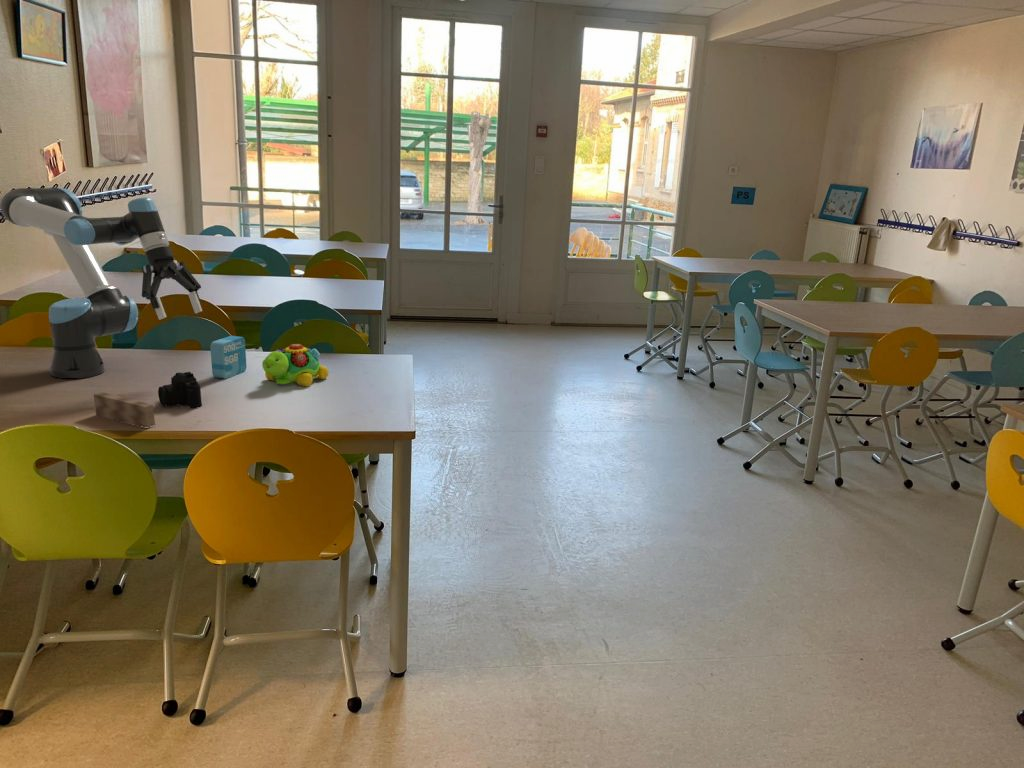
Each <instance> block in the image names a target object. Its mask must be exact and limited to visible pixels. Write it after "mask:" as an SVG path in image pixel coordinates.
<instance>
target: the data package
mask: <svg viewBox="0 0 1024 768" xmlns="http://www.w3.org/2000/svg"><path fill="white" fill-rule="evenodd" d="M210 343H211V344H210V345H209V347H210V359H211V371H212V372H211V373H212V376H213V378H218V379H226V380H227V379H229V378H232V377H235V376H237V375H240V374H242V373H244V372H245V371H246V370H247V353H246V340H245V338H244V337H243V336H236V335H230V336H225V337H223V338H219V339H217V340H214V341H212V342H210ZM241 372H242V373H241ZM239 373H240V374H239ZM234 375H235V376H234Z"/></svg>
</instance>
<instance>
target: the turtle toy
mask: <svg viewBox="0 0 1024 768" xmlns="http://www.w3.org/2000/svg"><path fill="white" fill-rule="evenodd" d="M320 357H321V354H320V352H319V351H318V350H317V349H316V348H312V349H311V348H308V347H305V346H303V345H302V344H301V343H292V344H289V346H287V347H286V348H283V349H282V350H280V349H276V350H275V351H271V352H270V353H269V354H267V356H266V357H265V358H263V361H262V365H261V366H262V368H263V370H264V372H265V373H264V374H265V378H266V379H267V380H268V381H273V382H276V384H278V385H279V384H280V385H287V384H293V383H297V384H298V385H299V386H303V387H309V386H311V385H312V383H313V381H314V379H317V380H325V379H327V378H328V376H329V368H328V367H327V366H325V365H321V362H320V360H319V358H320Z"/></svg>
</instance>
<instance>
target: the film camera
mask: <svg viewBox="0 0 1024 768" xmlns="http://www.w3.org/2000/svg"><path fill="white" fill-rule="evenodd" d="M170 379H171V380H170V382H171V383H169V384H165V385H163V386H159V387H158V390H157V394H158V400H159V403H160V405H161V406H162V407H172V406H178V405H179V406H181V405H182V406H186V407H188V406H189V408H190V409H198V408H197V407H199V408H201V407H202V406H203V403H202V392H201V385H200V384H199V382H198V381H197V378H196V377H195V376H194V374H193V373H192V372H191V371H187V372H186V371H185V372H176V373H175V374H174V375H173V376H172V377H171V378H170Z"/></svg>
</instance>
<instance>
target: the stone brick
mask: <svg viewBox="0 0 1024 768" xmlns="http://www.w3.org/2000/svg"><path fill="white" fill-rule="evenodd" d="M93 401H94V408H95V415H96V416H98V417H101V416H102V418H106V419H109V418H110V419H111V420H113V419H114V420H113V421H117V420H118V422H120V421H122V423H124V422H126V423H125V424H128V423H130V424H129V425H132V424H134V425H133V426H135V425H138V426H137V427H139V426H143V427H150V426H153V425H155V426H156V421H155V412H154V411H155V410H154V404H152V403H147V402H144V401H140V400H136V399H132V398H128V397H123V396H120V395H115V394H111V393H107V392H103V391H100V392H97V393H93ZM143 427H142V428H143Z"/></svg>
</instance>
